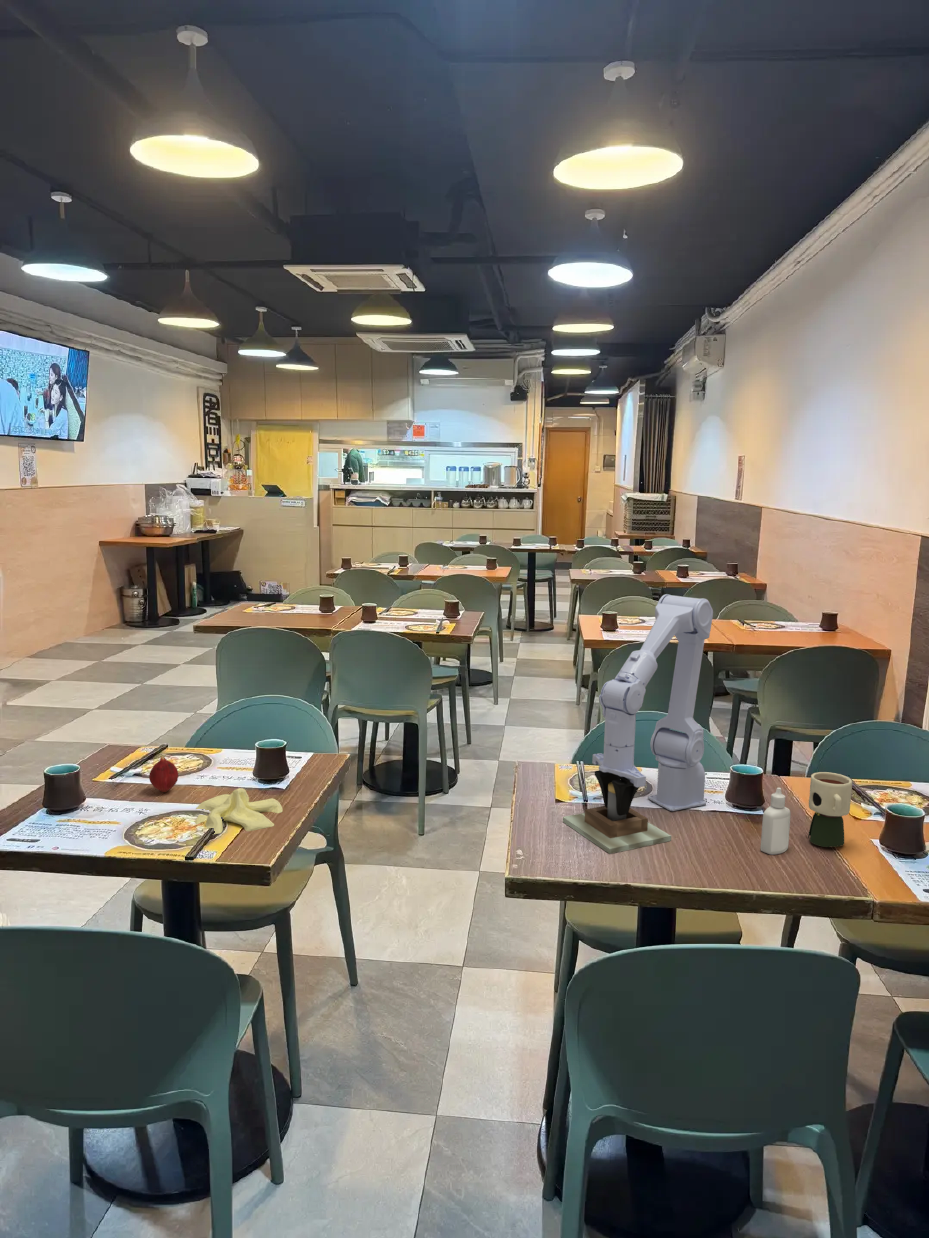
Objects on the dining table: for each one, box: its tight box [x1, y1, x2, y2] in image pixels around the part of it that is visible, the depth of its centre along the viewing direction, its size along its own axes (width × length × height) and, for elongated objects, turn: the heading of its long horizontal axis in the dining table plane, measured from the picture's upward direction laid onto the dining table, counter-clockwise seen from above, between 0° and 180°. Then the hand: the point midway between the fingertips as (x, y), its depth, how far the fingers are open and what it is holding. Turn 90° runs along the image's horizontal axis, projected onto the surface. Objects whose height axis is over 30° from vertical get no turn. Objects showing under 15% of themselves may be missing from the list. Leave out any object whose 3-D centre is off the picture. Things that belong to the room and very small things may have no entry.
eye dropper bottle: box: [760, 787, 791, 855], centre depth 154 cm, size 4×6×12 cm
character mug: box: [807, 771, 853, 848], centre depth 157 cm, size 11×7×13 cm, turn 172°
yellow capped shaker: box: [607, 782, 626, 821], centre depth 161 cm, size 4×4×8 cm
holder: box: [562, 805, 672, 855], centre depth 162 cm, size 14×16×4 cm
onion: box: [148, 755, 179, 793], centre depth 179 cm, size 6×6×8 cm
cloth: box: [193, 787, 284, 835], centre depth 166 cm, size 22×19×6 cm
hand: (616, 810), depth 162 cm, fingers closed on yellow capped shaker, 3 cm apart
